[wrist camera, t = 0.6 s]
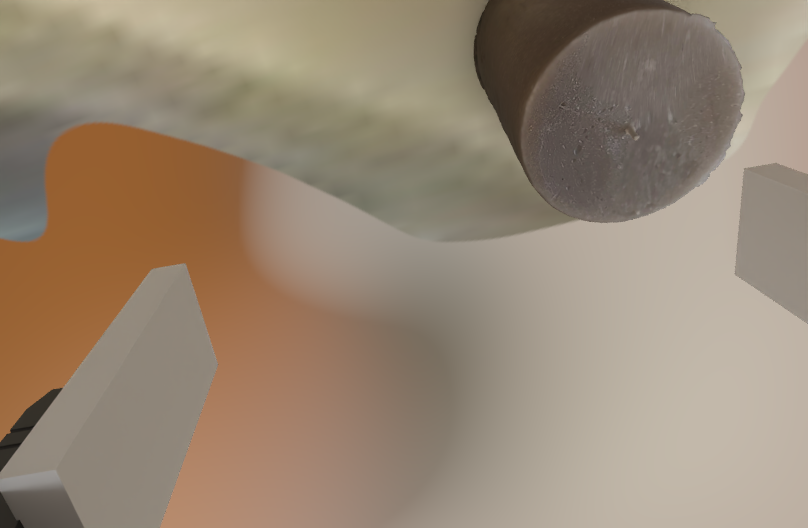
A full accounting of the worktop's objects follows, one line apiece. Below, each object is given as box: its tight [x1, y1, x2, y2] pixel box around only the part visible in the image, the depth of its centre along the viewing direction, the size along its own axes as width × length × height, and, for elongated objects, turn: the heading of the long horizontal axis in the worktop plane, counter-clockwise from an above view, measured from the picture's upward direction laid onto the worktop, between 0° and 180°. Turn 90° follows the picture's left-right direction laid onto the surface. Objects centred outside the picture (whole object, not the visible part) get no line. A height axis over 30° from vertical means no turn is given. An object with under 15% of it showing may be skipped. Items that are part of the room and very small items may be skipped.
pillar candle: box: [474, 0, 745, 223], centre depth 30 cm, size 10×10×15 cm
